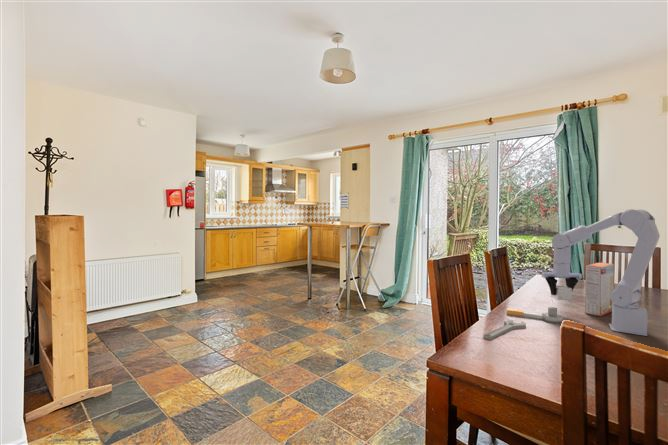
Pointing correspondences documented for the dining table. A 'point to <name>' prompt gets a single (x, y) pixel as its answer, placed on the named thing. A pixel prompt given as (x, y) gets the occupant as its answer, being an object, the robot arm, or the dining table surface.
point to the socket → (563, 293)
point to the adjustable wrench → (504, 329)
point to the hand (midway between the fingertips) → (561, 295)
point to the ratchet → (538, 315)
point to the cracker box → (599, 288)
